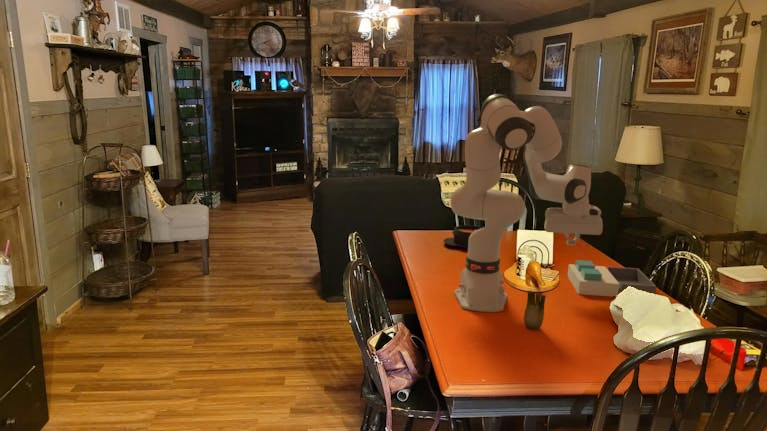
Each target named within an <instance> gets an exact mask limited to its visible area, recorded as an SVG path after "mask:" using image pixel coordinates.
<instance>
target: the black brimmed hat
mask: <svg viewBox="0 0 767 431" xmlns="http://www.w3.org/2000/svg"><path fill="white" fill-rule="evenodd" d="M481 228H484V226H483V227H482V226H479V225H472V224H471V225H470V224H462V225H457V226H455V227H454V229H453V230H452V235H453V237H446V238H444V239H443V243H444V244H446V245H447V246H453V247H460V248H462V249H467V250H468V242H469V236H470V235H471V233H473V232H474V231H476V230H478V229H481Z"/></svg>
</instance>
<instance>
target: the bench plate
mask: <svg viewBox="0 0 767 431" xmlns="http://www.w3.org/2000/svg"><path fill="white" fill-rule="evenodd" d="M567 267H568V269H567V278H568V279H569V281H570V283H571V284H572V286H573V288H574V289H575V291H576V292H577V294H578V295H584V296H586V295H587V296H601V297H602V296H603V297H613V296H616V295H618V292H619V285H620V284H619V283H618V281H617V280H616V279H615V278H614V277H613V275H612V274H611V273H610V272H609V271H608V267H606V266H603V265H595V269H598V270H599V271H600V273H601V274H602V277H601V281H594V280H584V279H583V277H582V276H581V271H578V270H577V268H576V267H575V264H574V263H573V264H568V266H567Z"/></svg>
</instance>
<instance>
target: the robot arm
mask: <svg viewBox="0 0 767 431" xmlns="http://www.w3.org/2000/svg"><path fill="white" fill-rule="evenodd" d="M477 123H478V125H479V127H478V128H476V129H472V130H471V131H470V132H469V133H468V134H467V135H466V137H465V143H464V161H465V170H466V177H465V178H466V179H465V182H464V184H463V185H461V186H460V187H458V188H456V189H455V191H453V193H452V194H451V197H450V209H451V210H452V213H453V214H455V215H457V216H459V217H463V218H467V219H472V220H479V221H485V222H486V223H485V224H486V225H485V226H483V228H481V229H478V230H476V231H474V232H473V233H471V235H470V236H469V242H468V249H467V255H466V258H465V267H464V269H462V270H461V272H460V281H459V282H460V283H459V288H457V289H455V290H454V291H453V292H454V296H455V298H456V299H457V301H458V303H459V305H460V307H461V308H462V309H465V310H469V311H475V312H482V313H485V312H487V313H498V312H503V311H504V309H505V305H506V302H507V298H508V294H507V292H505V289H506V288H505V286H503V285H504V283H505V280H504V279H503V272H501V271H500V266H501V259H500V250H501V242H502V239H503V236H504V234H505V232H506V231H507V230H508V229H509V228H510V227H511V226H512V225H514V224H515V223H517V222H518V221H520V219H521V218H522V217H523V216H524V215H525V214H524V213H525V208H526V206H525V205H526V204H525V201H524V199H523V197H522V195H520V194H518V193H515V192H511V191H508V190H501V189H492V188H494V187H495V186H496V185H498V183H499V182H500V181H501V177H502V171H501V161H500V160H501V159H500V147H501V148H502V149H504V150H506V151H516V150H519V149H521V148H523V147H524V148H523V150H522V160H523V163H524V168H525V171H526V177H527V178H528V179H527V180H528V188H529V189H528V190H529V192H530V194H531V196H532V197H533V199H535V200H541V201H549V202H553V203H560V204H562V207H551V206H550V207H549V208H546V210H545V211H544V212H545V213H544V217H545V220H544V225H543V226H544V228H543V229H544V230H545V232H546V233H555V234H556V233H557V234H564V236H565V238H566V245H567V246H576V244H577V241H578V240H579V239H580V237H581V235H595V236H600V235H601V234H602V233H603V228H604V226H603V225H604V224H603V218H602V217H601V215H602V210H601V209H600V208H599V207H598V206H595V205H592V204H590V200H589V194H590V190H591V185H592V172H591V168H590V167H589V166H587V165H581V164H576V163H572V164H569V165H568V167H567V170H566V173H565V174H563V175H560V174H556V173H550V172H547V171H545V170H543V166H542V163H547V162H549V161H552V160H553V159H554V158H555V157H557V155H559V153H560V152H561V149H562V146H563V140H562V135H561V133H560V131H559V129H558V126H557V123H556V122H555V120H554V119H553V117H552V115H551V114H550V112H549V111H548V110H547V109H546V108H545V107H543V106H539V105H535V106H534V105H533V106H531V107H528V108H526V109H525V110H520V108H518V106H517V105H516V104H515V103H514V101H513V100H512V99H511V98H510V97H508V96H507V95H505V94H501V93H494V94H492V95H489V96H488V97H487V98H486V99H485V100H484V102H483V103H482V106H481V108H480V114H479V116H478V118H477ZM570 234H574V235H575V237H574V238H573V239H570V238H569V237H570Z"/></svg>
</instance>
